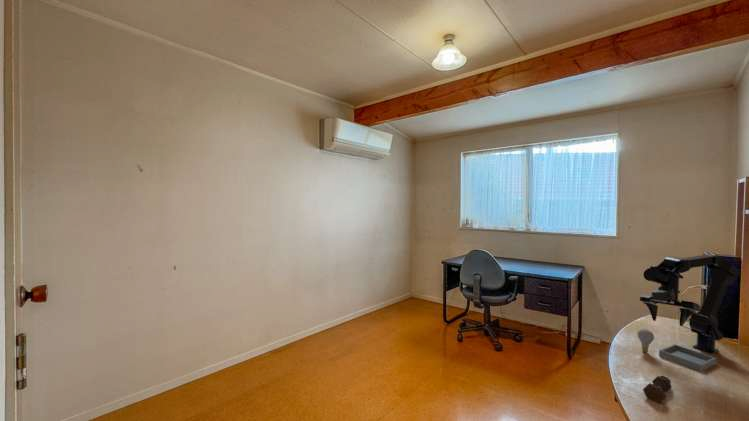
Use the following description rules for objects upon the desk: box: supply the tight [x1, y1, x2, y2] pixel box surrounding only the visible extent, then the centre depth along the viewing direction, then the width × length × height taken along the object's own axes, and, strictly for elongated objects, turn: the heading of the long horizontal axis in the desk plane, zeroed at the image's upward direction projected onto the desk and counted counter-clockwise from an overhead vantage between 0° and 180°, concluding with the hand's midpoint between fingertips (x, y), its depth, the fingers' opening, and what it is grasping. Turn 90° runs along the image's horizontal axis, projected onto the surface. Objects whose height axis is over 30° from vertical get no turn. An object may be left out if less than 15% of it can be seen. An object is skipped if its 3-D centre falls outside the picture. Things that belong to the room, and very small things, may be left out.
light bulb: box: [637, 328, 655, 353], centre depth 139 cm, size 5×6×10 cm
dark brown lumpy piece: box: [642, 375, 673, 404], centre depth 110 cm, size 6×5×15 cm
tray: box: [658, 343, 717, 372], centre depth 132 cm, size 13×13×2 cm
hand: (667, 323), depth 135 cm, fingers open, 9 cm apart
